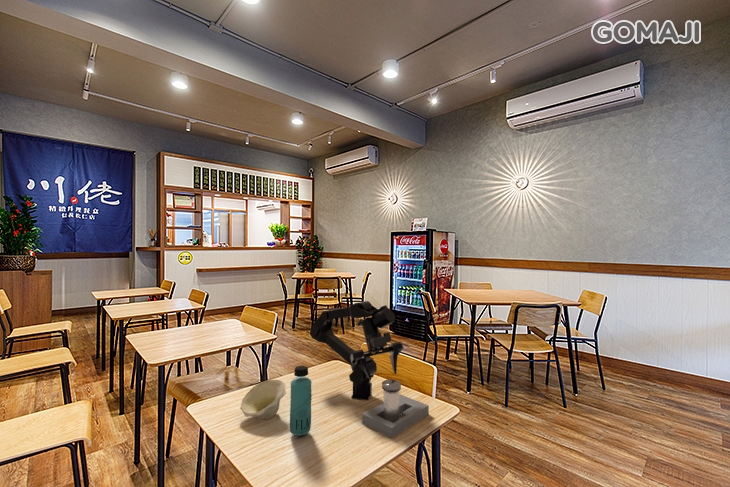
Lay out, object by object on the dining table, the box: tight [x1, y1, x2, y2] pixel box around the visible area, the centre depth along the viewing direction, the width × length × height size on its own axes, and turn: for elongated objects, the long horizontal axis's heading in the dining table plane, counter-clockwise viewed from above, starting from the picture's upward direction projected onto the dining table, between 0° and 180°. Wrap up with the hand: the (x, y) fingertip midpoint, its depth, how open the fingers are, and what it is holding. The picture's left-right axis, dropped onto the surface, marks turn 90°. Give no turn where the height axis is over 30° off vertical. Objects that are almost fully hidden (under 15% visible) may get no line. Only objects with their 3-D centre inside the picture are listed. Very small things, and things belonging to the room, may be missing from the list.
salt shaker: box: [381, 379, 402, 423], centre depth 105 cm, size 6×6×13 cm
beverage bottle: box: [289, 365, 313, 436], centre depth 99 cm, size 6×7×20 cm
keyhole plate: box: [361, 393, 430, 439], centre depth 109 cm, size 20×12×3 cm, turn 137°
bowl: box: [239, 379, 287, 420], centre depth 109 cm, size 15×14×10 cm
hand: (383, 376), depth 114 cm, fingers open, 9 cm apart
